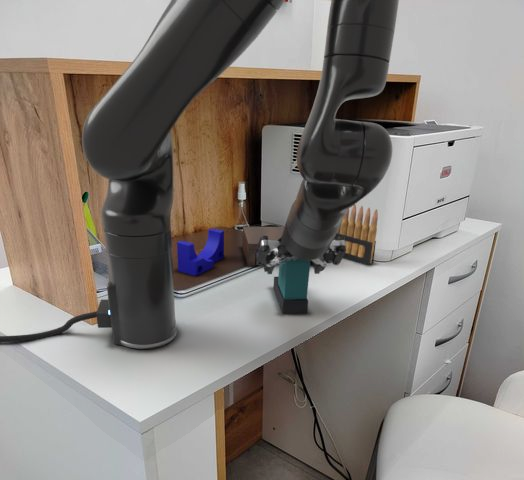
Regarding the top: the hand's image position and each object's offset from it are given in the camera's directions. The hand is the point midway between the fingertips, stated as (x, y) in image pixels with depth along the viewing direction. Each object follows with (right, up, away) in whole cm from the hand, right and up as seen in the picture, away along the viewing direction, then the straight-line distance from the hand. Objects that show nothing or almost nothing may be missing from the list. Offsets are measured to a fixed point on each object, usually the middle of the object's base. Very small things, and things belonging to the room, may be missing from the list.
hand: (292, 269), depth 88 cm
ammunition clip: (+15, +6, +25) cm, 29 cm away
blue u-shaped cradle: (-18, +3, +17) cm, 25 cm away
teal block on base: (0, -5, +3) cm, 6 cm away
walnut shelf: (-1, +7, +23) cm, 24 cm away
